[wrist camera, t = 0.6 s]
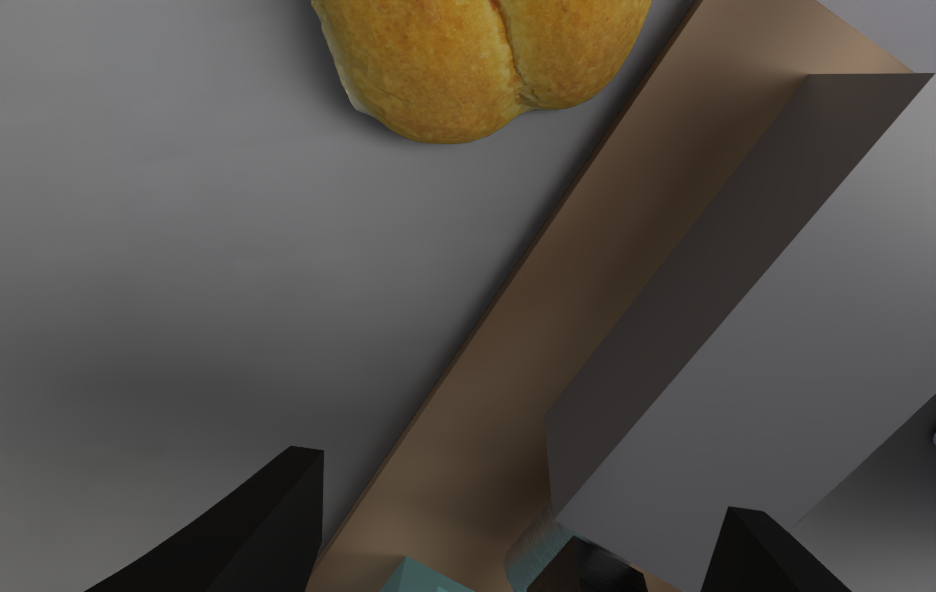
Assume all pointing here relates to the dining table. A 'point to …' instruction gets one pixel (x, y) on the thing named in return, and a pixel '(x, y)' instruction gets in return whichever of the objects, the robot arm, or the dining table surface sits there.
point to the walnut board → (581, 292)
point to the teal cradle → (420, 579)
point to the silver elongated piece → (565, 561)
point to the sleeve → (764, 335)
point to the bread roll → (474, 59)
